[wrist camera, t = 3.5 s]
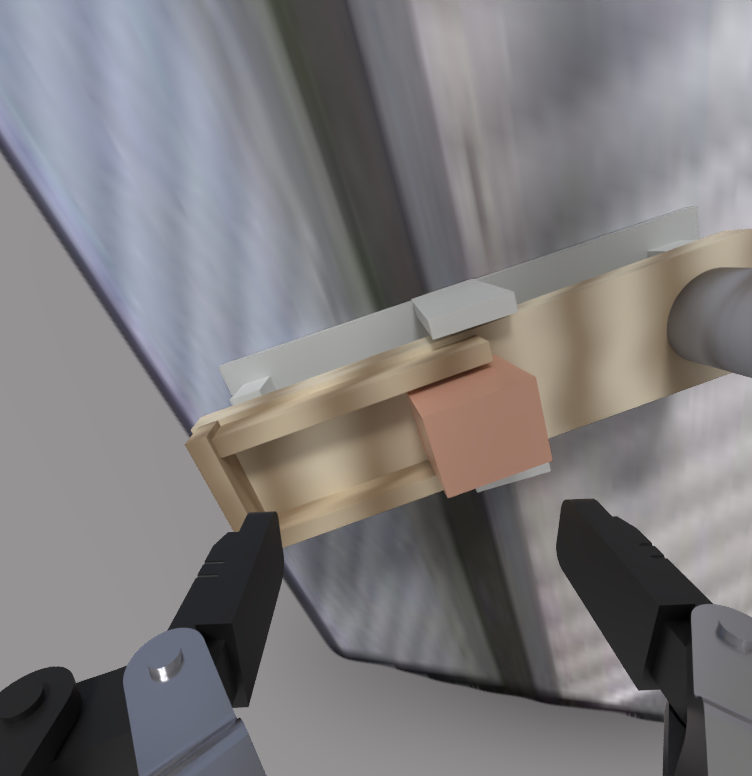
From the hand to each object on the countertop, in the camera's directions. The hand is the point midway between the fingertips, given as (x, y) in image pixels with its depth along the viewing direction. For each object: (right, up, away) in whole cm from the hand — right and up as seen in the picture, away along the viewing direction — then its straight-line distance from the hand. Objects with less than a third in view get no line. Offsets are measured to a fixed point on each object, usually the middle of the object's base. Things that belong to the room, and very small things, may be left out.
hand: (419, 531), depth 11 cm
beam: (+6, +4, +15) cm, 16 cm away
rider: (+4, +3, +14) cm, 15 cm away
